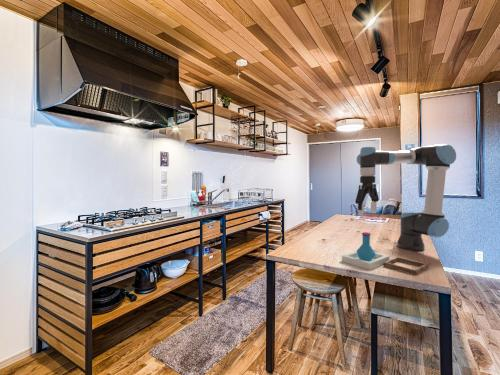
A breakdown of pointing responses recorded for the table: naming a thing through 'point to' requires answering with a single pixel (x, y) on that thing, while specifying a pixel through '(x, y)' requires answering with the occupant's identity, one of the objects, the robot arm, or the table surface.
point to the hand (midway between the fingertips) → (367, 214)
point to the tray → (376, 261)
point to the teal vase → (366, 248)
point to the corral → (390, 264)
